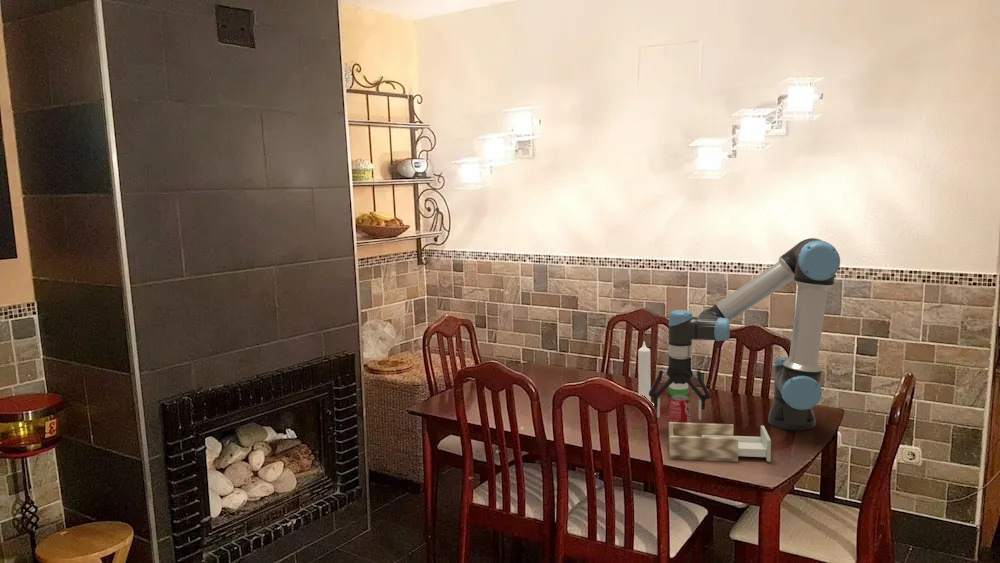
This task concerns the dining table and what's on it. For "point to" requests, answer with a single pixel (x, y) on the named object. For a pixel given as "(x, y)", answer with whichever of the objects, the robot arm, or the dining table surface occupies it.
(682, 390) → the wine bottle
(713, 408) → the dining table surface
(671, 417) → the soda can
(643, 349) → the candle
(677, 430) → the light brown hollow box
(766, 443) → the drawer
